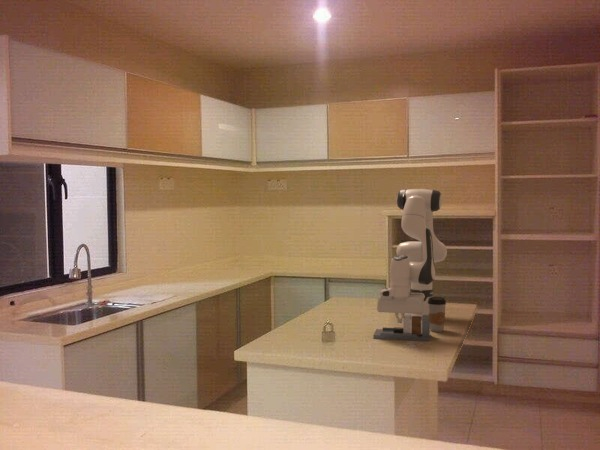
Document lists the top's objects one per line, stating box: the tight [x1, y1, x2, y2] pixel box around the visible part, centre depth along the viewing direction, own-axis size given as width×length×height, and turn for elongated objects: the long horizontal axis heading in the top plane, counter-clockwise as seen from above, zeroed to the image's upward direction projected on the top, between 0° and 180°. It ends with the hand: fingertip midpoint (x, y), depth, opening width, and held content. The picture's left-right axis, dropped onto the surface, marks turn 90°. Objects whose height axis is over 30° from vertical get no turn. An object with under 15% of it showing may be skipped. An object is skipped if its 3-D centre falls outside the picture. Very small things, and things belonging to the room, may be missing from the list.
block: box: [412, 316, 421, 335], centre depth 257 cm, size 4×4×8 cm
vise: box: [373, 315, 431, 342], centre depth 258 cm, size 12×24×9 cm, turn 76°
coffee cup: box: [428, 296, 447, 333], centre depth 269 cm, size 8×8×15 cm
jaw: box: [393, 314, 412, 334], centre depth 258 cm, size 9×8×7 cm
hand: (400, 322), depth 258 cm, fingers closed
